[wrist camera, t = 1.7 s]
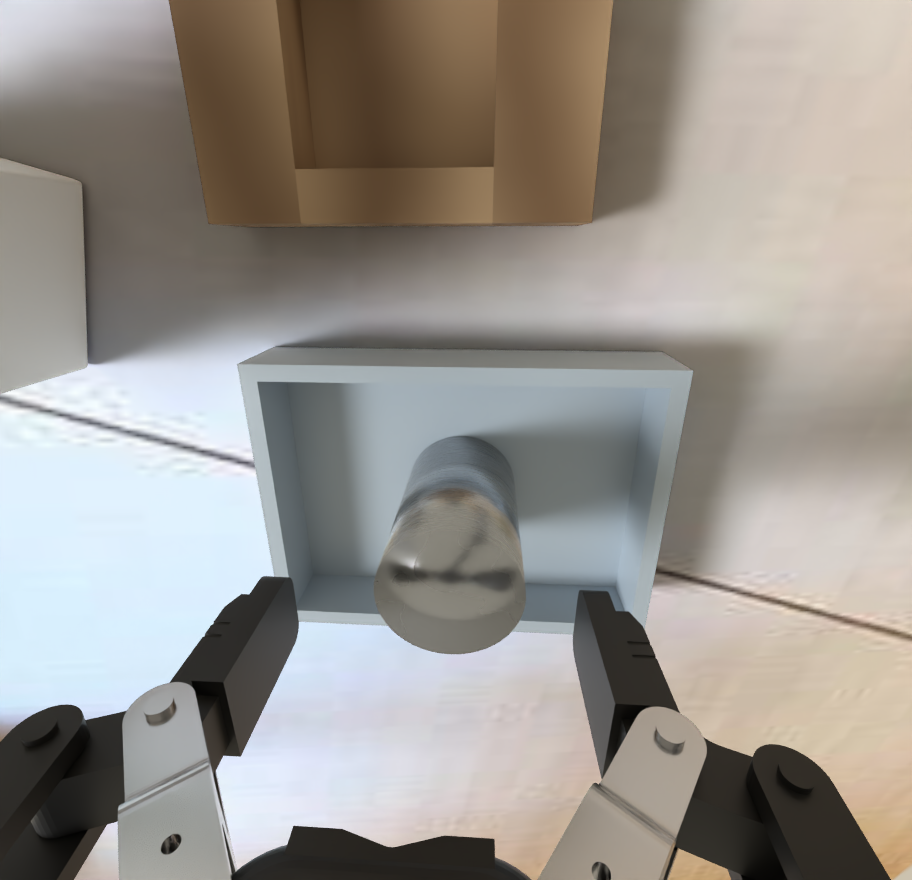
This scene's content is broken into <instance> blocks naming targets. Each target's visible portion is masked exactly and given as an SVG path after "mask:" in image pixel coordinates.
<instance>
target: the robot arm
mask: <svg viewBox="0 0 912 880" xmlns="http://www.w3.org/2000/svg"><path fill="white" fill-rule="evenodd" d="M298 627H299V620H298V613H297V606H296V599H295V592H294V585H293V581H292V579H291V578H290V577H269V576H264V577H262V578H261V579H260V580H259V581H258V583H257V584H256V586H255V587H254V589H253V590H252V592H251V593H250V595H247V594H241V595H240V596H238V597H237V598H236V599H234V600H233V601H232V602H231V603H229V604H228V605H227V606H225V607H224V609H223V610H222V611H221V613H220V614H219V615H218V617H217V618H216V620H215V621H214V624H213V625H211V626H210V628H209V629H208V631H207V632H206V633H205V637H202V639H201V640H200V642H199V643H198V644H197V646H196V647H195V648H194V650H193V651H192V653H191V654H190V655H189V657H188V658H187V659H186V661H185V662H184V664H183V665H182V666H181V668H180V669H179V670H178V672H177V673H176V675H175V676H174V677H173V679H172V680H171V681H170V683H167V684H163V685H160V686H157V687H155V688H153V689H151V690H149V691H148V692H146V693H144V694H143V695H142V696H140V697H139V698H138V699H137V700H136V701H135V702H134V703H133V704H132V705H131V706H130V707H129V709H128V710H127V711H124V712H120V713H116V714H111V715H107V716H102V717H98V718H94V719H89V720H85V719H84V716H83V714H82V711H81V710H80V709H79V708H78V707H76V706H73V705H58V706H54V707H50V708H47V709H45V710H42V711H40V712H38V713H36V714H34V715H32V716H30V717H28V718H27V719H25V720H24V721H22V722H21V723H20V724H18V725H17V726H16V727H15V728H13V729H12V730H11V731H10V732H9V733H8V734H7V735H6V736H5V738H4V739H3V740H2V741H1V742H0V880H74V878H75V877H76V875H77V873H78V872H79V870H80V868H81V867H82V865H83V864H84V862H85V860H86V859H87V857H88V855H89V854H90V852H91V850H92V849H93V847H94V845H95V844H96V842H97V840H98V839H99V837H100V835H101V834H102V832H103V830H104V829H105V827H106V825H107V824H110V823H114V822H117V821H118V859H119V880H531V879H530V878H529V877H528V876H527V875H525V874H524V873H523V872H521V871H520V870H519V869H517V868H516V867H514V866H512V865H510V864H509V863H507V862H505V861H503V860H500V859H498V858H495V845H494V839H488V838H472V837H457V836H441V837H437V838H432V839H428V840H424V841H420V842H415V843H411V844H407V845H403V846H398V847H393V848H392V847H386V846H383V845H381V844H378V843H376V842H373V841H371V840H368V839H366V838H363V837H361V836H358V835H356V834H353V833H351V832H348V831H346V830H343V829H333V828H318V827H302V826H293V829H292V832H291V835H290V838H289V841H288V844H287V845H285V846H281V847H278V848H276V849H273V850H271V851H268V852H266V853H264V854H262V855H260V856H258V857H256V858H254V859H253V860H251V861H250V862H248V863H247V864H245V865H244V866H242V867H241V868H240V869H238V870H237V866H236V862H235V857H234V853H233V849H232V844H231V839H230V835H229V830H228V825H227V820H226V816H225V811H224V806H223V801H222V797H221V792H220V787H219V782H218V778H217V773H216V769H217V767H218V765H219V763H220V761H221V759H222V757H223V756H241V755H242V753H243V750H244V748H245V746H246V744H247V742H248V740H249V738H250V736H251V734H252V732H253V730H254V728H255V725H256V723H257V721H258V719H259V717H260V715H261V713H262V711H263V709H264V707H265V705H266V703H267V700H268V698H269V696H270V694H271V692H272V690H273V688H274V686H275V684H276V682H277V680H278V678H279V675H280V673H281V671H282V669H283V667H284V665H285V663H286V661H287V659H288V657H289V655H290V653H291V650H292V648H293V646H294V644H295V642H296V638H297V634H298ZM573 650H574V658H575V662H576V667H577V671H578V676H579V680H580V685H581V689H582V693H583V698H584V702H585V707H586V711H587V716H588V720H589V725H590V729H591V734H592V738H593V742H594V747H595V751H596V756H597V760H598V765H599V769H600V774H601V778H602V781H601V782H600V783H599V785H598V784H597V783H594V784H593V785H592V786H591V787H590V788H589V790H588V792H587V793H586V795H585V797H584V798H583V800H582V802H581V804H580V806H579V807H578V809H577V811H576V813H575V814H574V816H573V818H572V820H571V822H570V823H569V825H568V827H567V829H566V830H565V832H564V834H563V836H562V837H561V839H560V841H559V843H558V845H557V846H556V848H555V850H554V852H553V853H552V855H551V857H550V859H549V861H548V862H547V864H546V866H545V868H544V869H543V871H542V873H541V875H540V876H539V878H538V880H668V878H669V875H670V872H671V870H672V867H673V864H674V861H675V858H676V855H677V853H678V850H679V849H681V850H684V851H686V852H689V853H691V854H693V855H696V856H698V857H700V858H703V859H705V860H708V861H710V862H712V863H715V864H717V865H719V866H722V867H724V868H727V869H728V871H729V874H730V877H731V880H891V879H890V877H889V876H888V874H887V872H886V871H885V869H884V867H883V866H882V864H881V862H880V861H879V859H878V857H877V856H876V854H875V852H874V851H873V849H872V847H871V846H870V844H869V842H868V841H867V839H866V837H865V836H864V834H863V832H862V831H861V829H860V827H859V826H858V824H857V822H856V821H855V819H854V817H853V816H852V814H851V812H850V811H849V809H848V807H847V806H846V804H845V802H844V801H843V799H842V797H841V796H840V794H839V792H838V791H837V789H836V787H835V786H834V784H833V782H832V781H831V779H830V778H829V777H828V775H827V774H826V773H825V772H824V771H823V770H822V769H821V768H820V767H819V766H818V765H817V764H816V763H814V762H813V761H812V760H811V759H809V758H808V757H806V756H805V755H803V754H801V753H799V752H798V751H796V750H793V749H791V748H788V747H785V746H781V745H773V744H769V745H764V746H761V747H760V748H758V749H757V750H756V751H755V753H754V755H753V757H751V756H748V755H745V754H742V753H739V752H736V751H733V750H730V749H727V748H725V747H722V746H719V745H717V744H714V743H712V742H710V741H709V740H707V739H705V738H704V737H703V735H702V734H701V732H700V730H699V729H698V728H697V727H696V725H695V724H694V723H693V722H692V721H690V720H689V719H688V718H687V717H685V716H684V715H682V714H680V712H679V710H678V708H677V705H676V703H675V701H674V698H673V696H672V694H671V691H670V689H669V687H668V684H667V682H666V679H665V677H664V675H663V672H662V670H661V668H660V665H659V663H658V661H657V659H656V658H655V654H654V651H653V649H652V647H651V646H650V642H649V640H648V637H647V635H646V633H645V630H644V628H643V626H642V625H641V624H640V623H639V622H638V621H637V619H636V618H635V617H634V616H633V615H632V614H631V613H630V612H629V611H616V610H615V607H614V605H613V602H612V599H611V597H610V594H609V592H608V591H596V590H580V591H579V593H578V599H577V607H576V615H575V623H574V631H573Z"/></svg>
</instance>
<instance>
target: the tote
mask: <svg viewBox="0 0 912 880" xmlns="http://www.w3.org/2000/svg"><path fill="white" fill-rule="evenodd" d="M237 366H238V372H239V377H240V383H241V389H242V394H243V400H244V406H245V412H246V417H247V423H248V429H249V434H250V440H251V446H252V451H253V457H254V463H255V469H256V474H257V480H258V486H259V491H260V497H261V503H262V508H263V514H264V520H265V526H266V531H267V537H268V543H269V548H270V554H271V560H272V566H273V571H274V577H290V578H291V579H292V581H293V585H294V592H295V599H296V606H297V613H298V620H299V622H319V623H340V624H361V625H382V626H388V625H387V624H386V623H385V621H384V620H383V618H382V617H381V615H380V613H379V611H378V609H377V606H376V603H375V598H374V580H375V575H376V572H377V569H378V566H379V564H380V561H381V558H382V555H383V552H384V549H385V546H386V543H387V540H388V537H389V535H390V532H391V529H392V526H393V523H394V520H395V517H396V514H397V511H398V509H399V506H400V503H401V500H402V497H403V494H404V491H405V488H406V485H407V483H408V480H409V477H410V474H411V471H412V468H413V465H414V463H415V461H416V459H417V458H418V456H419V455H420V454H421V453H422V452H423V451H424V449H426V448H427V447H428V446H429V445H431V444H433V443H434V442H436V441H439V440H441V439H444V438H447V437H453V436H469V437H474V438H478V439H481V440H484V441H486V442H488V443H490V444H491V445H493V446H494V447H496V448H497V449H498V450H499V451H500V452H501V453H502V454H503V455H504V456H505V458H506V459H507V461H508V462H509V464H510V466H511V469H512V472H513V476H514V484H515V493H516V503H517V512H518V522H519V531H520V540H521V550H522V559H523V569H524V578H525V588H526V603H525V608H524V611H523V615H522V617H521V619H520V621H519V623H518V624H517V625H516V627H515V628H514V629H513V630H512V631H511V632H530V633H551V634H572V635H573V631H574V623H575V615H576V607H577V599H578V593H579V591H580V590H596V591H608V592H609V594H610V597H611V599H612V602H613V605H614V607H615V610H616V611H629V612H630V613H631V614H632V615H633V616H634V617H635V618H636V619H637V621H638V622H639V623H640V624H641V625H642V626H643V628H644V629H645V624H646V619H647V613H648V608H649V603H650V597H651V592H652V587H653V582H654V576H655V571H656V566H657V561H658V555H659V550H660V545H661V539H662V534H663V529H664V524H665V518H666V513H667V508H668V502H669V497H670V492H671V487H672V481H673V476H674V471H675V466H676V460H677V455H678V450H679V444H680V439H681V434H682V429H683V423H684V418H685V413H686V408H687V402H688V397H689V392H690V386H691V381H692V376H693V370H691V369H690V368H688V367H687V366H685V365H683V364H682V363H680V362H678V361H677V360H675V359H673V358H672V357H670V356H669V355H667V354H665V353H664V352H643V351H560V350H478V349H395V348H313V347H273V348H271V349H268V350H266V351H264V352H262V353H260V354H258V355H256V356H254V357H251V358H249V359H247V360H245V361H243V362H241V363H239V364H237Z"/></svg>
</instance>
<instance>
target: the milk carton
mask: <svg viewBox="0 0 912 880" xmlns="http://www.w3.org/2000/svg"><path fill="white" fill-rule="evenodd" d="M87 365H88V356H87V321H86V288H85V257H84V226H83V198H82V184H81V182H79V181H77V180H75V179H72V178H69V177H65V176H62V175H59V174H55V173H52V172H48V171H45V170H42V169H38V168H35V167H31V166H28V165H24V164H21V163H17V162H14V161H10V160H7V159H4V158H0V394H1V393H5V392H8V391H11V390H15V389H18V388H21V387H24V386H28V385H31V384H34V383H38V382H41V381H44V380H48V379H51V378H54V377H58V376H61V375H64V374H67V373H71V372H74V371H77V370H81V369H84V368H86V367H87Z"/></svg>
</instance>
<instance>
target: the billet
mask: <svg viewBox="0 0 912 880" xmlns="http://www.w3.org/2000/svg"><path fill="white" fill-rule="evenodd" d="M374 598H375V603H376V606H377V609H378V611H379V613H380V615H381V617H382V618H383V620H384V621H385V623H386V624H387V625H388V626H389V627H390V628H391V629H392V630H393V631H394V632H395V633H396V634H397V635H398V636H400V637H401V638H403V639H404V640H405V641H407V642H409V643H411V644H413V645H415V646H417V647H420V648H422V649H425V650H428V651H432V652H437V653H444V654H465V653H471V652H476V651H480V650H483V649H486V648H488V647H490V646H492V645H495V644H496V643H498V642H499V641H501V640H502V639H504V638H505V637H506V636H507V635H509V634H510V633H511V631H512V630H513V629H514V628H515V627H516V625H517V624H518V623H519V621H520V619H521V617H522V615H523V611H524V608H525V603H526V588H525V578H524V569H523V559H522V550H521V540H520V531H519V522H518V512H517V503H516V493H515V484H514V476H513V472H512V469H511V466H510V464H509V462H508V461H507V459H506V458H505V456H504V455H503V454H502V453H501V452H500V451H499V450H498V449H497V448H496V447H494V446H493V445H491V444H490V443H488V442H486V441H484V440H481V439H478V438H474V437H469V436H453V437H447V438H444V439H441V440H439V441H436V442H434V443H433V444H431V445H429V446H428V447H427V448H426V449H424V451H423V452H422V453H421V454H420V455H419V456H418V458H417V459H416V461H415V463H414V465H413V468H412V471H411V474H410V477H409V480H408V483H407V485H406V488H405V491H404V494H403V497H402V500H401V503H400V506H399V509H398V511H397V514H396V517H395V520H394V523H393V526H392V529H391V532H390V535H389V537H388V540H387V543H386V546H385V549H384V552H383V555H382V558H381V561H380V564H379V566H378V569H377V572H376V575H375V580H374Z"/></svg>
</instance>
